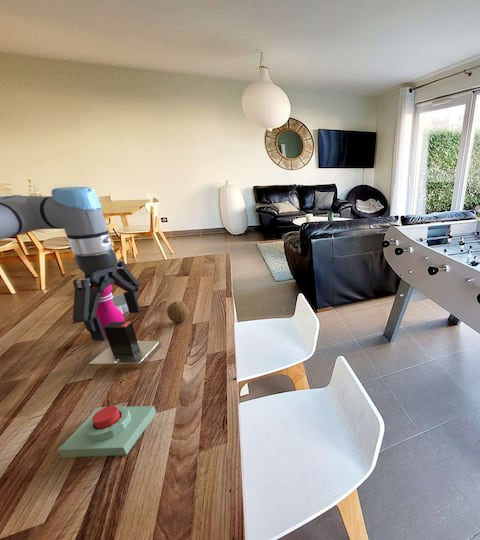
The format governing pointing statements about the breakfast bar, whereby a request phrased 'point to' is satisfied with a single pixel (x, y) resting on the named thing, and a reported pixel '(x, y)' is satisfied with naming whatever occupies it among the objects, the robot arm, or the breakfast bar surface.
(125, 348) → the black rectangular block
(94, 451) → the block
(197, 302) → the breakfast bar surface
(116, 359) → the shiny metal plate
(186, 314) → the fruit
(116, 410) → the button
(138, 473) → the breakfast bar surface
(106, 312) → the pepper mill
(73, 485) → the breakfast bar surface
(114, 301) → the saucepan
